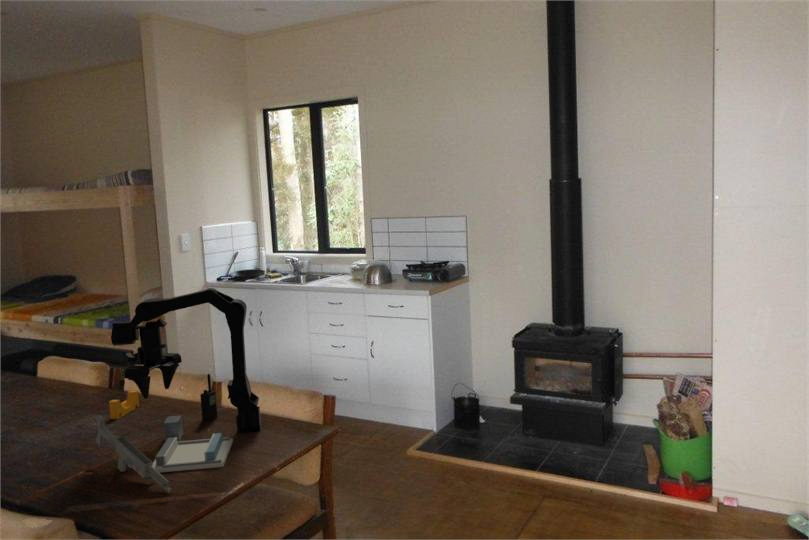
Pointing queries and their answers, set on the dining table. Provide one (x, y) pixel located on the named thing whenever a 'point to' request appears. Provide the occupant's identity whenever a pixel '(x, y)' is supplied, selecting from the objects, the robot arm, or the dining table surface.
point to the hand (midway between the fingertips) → (156, 393)
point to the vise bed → (189, 455)
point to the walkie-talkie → (208, 403)
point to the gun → (130, 455)
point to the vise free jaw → (213, 446)
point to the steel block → (173, 427)
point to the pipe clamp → (124, 405)
